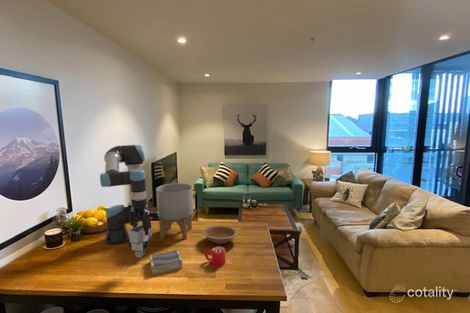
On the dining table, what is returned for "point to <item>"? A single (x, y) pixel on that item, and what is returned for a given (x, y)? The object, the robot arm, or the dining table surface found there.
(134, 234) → the housing
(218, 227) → the bowl
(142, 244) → the pneumatic valve
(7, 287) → the dining table surface
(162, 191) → the planter
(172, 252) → the stand
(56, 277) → the dining table surface
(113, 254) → the dining table surface
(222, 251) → the mug
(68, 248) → the dining table surface
